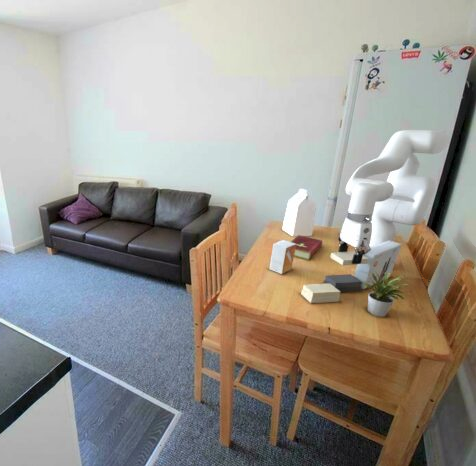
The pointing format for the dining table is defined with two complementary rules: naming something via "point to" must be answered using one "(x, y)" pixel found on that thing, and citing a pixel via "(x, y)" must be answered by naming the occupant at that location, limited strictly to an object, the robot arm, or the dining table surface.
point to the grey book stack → (344, 282)
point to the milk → (300, 215)
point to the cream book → (347, 258)
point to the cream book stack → (320, 293)
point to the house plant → (382, 295)
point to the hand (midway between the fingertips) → (348, 258)
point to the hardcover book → (306, 246)
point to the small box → (282, 256)
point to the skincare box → (378, 262)
